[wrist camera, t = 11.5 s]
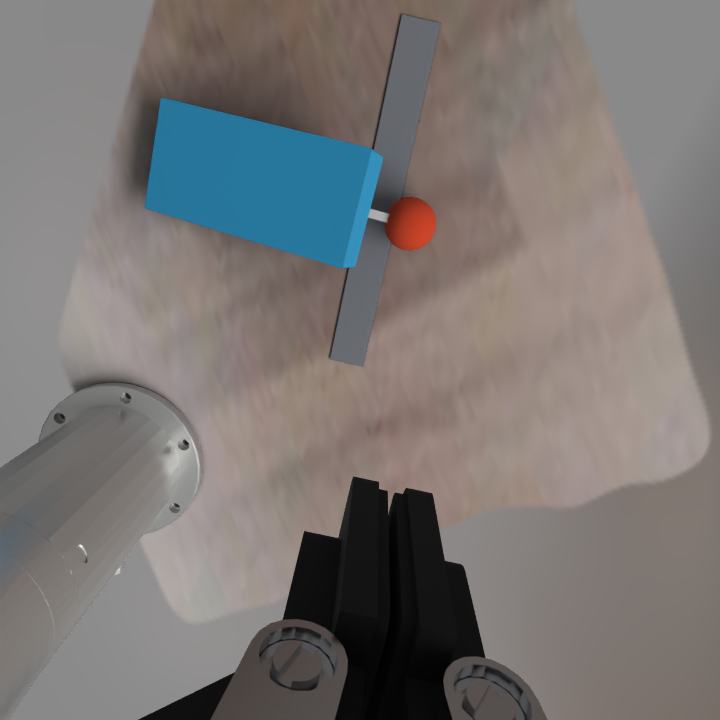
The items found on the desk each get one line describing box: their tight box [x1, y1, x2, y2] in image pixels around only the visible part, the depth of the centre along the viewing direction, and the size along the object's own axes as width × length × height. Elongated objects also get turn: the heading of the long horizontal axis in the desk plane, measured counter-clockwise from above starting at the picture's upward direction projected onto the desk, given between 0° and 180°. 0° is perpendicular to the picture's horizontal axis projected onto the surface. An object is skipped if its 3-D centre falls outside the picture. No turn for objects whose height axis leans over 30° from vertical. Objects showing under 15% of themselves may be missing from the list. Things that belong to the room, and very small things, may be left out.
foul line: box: [330, 14, 441, 366], centre depth 37 cm, size 23×2×1 cm, turn 168°
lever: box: [145, 98, 436, 268], centre depth 36 cm, size 7×7×18 cm
